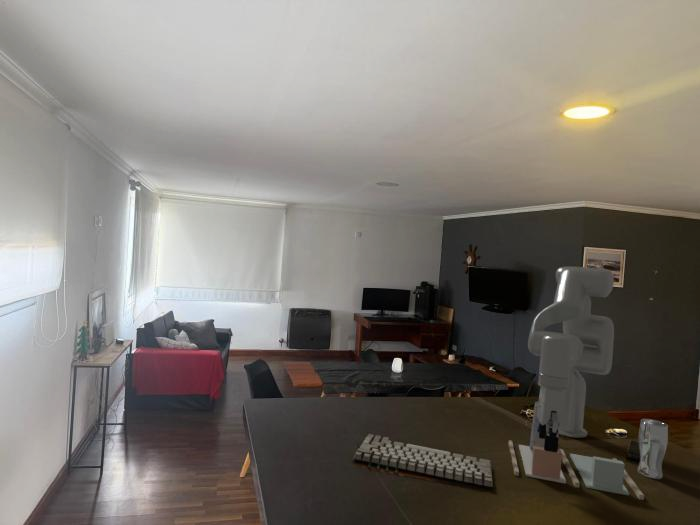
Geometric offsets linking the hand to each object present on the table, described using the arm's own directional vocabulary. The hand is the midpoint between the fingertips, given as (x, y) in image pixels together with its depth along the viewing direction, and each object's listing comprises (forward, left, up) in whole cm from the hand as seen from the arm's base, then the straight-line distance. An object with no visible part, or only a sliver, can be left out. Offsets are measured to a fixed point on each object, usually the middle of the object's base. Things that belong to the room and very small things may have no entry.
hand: (547, 444), depth 126 cm
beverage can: (-16, 0, -8) cm, 18 cm away
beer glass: (-17, +31, -9) cm, 36 cm away
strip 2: (-10, +15, -9) cm, 20 cm away
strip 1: (-10, 0, -9) cm, 14 cm away
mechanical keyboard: (+6, -32, -10) cm, 34 cm away
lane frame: (-10, +8, -9) cm, 16 cm away
